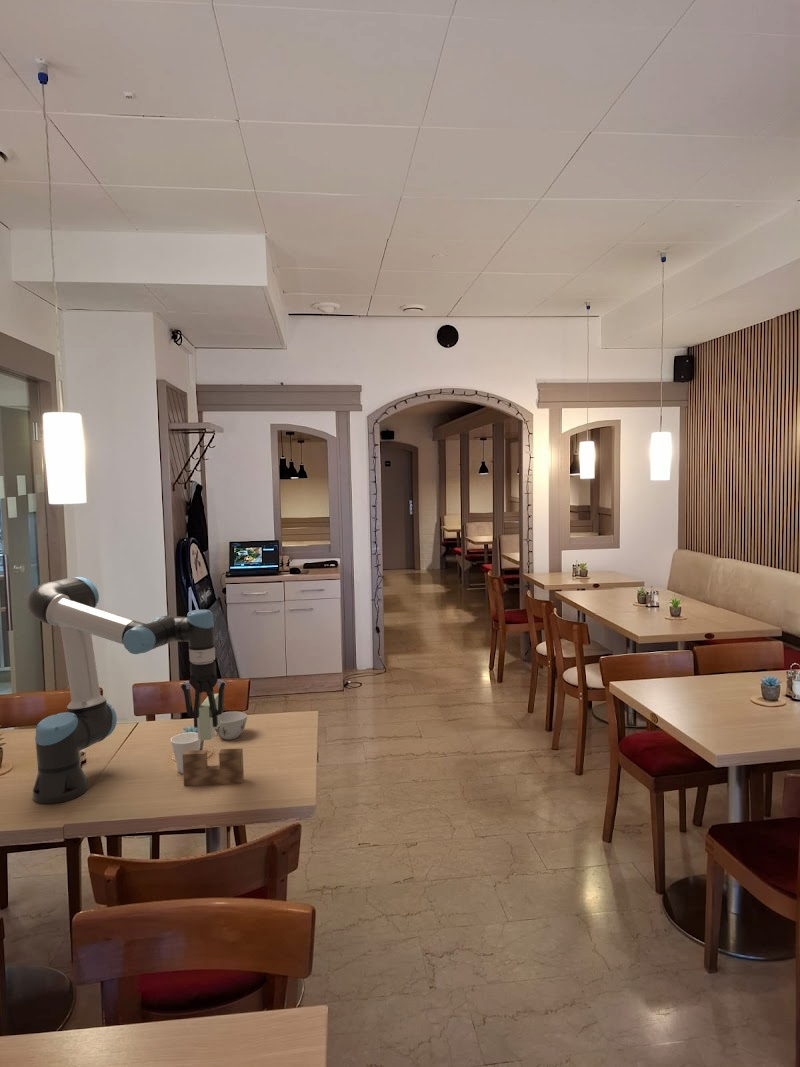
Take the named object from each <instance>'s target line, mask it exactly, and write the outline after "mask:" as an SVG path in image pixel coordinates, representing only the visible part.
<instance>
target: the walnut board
mask: <svg viewBox="0 0 800 1067" xmlns="http://www.w3.org/2000/svg"><path fill="white" fill-rule="evenodd" d="M243 752H244V751H243V748H221V749H220V750H219V752H218V761H219V762H218V765H217V764H216V765H208V750H207V749H200V750H192V751H184V753H183V773H182V775H183V786H203V785H204V786H207V785H209V786H210V785H225V784H227V785H228V784H229V785H230V784H243V782H244V779H245V777H244V775H245V774H244V773H245V772H244V753H243Z"/></svg>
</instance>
